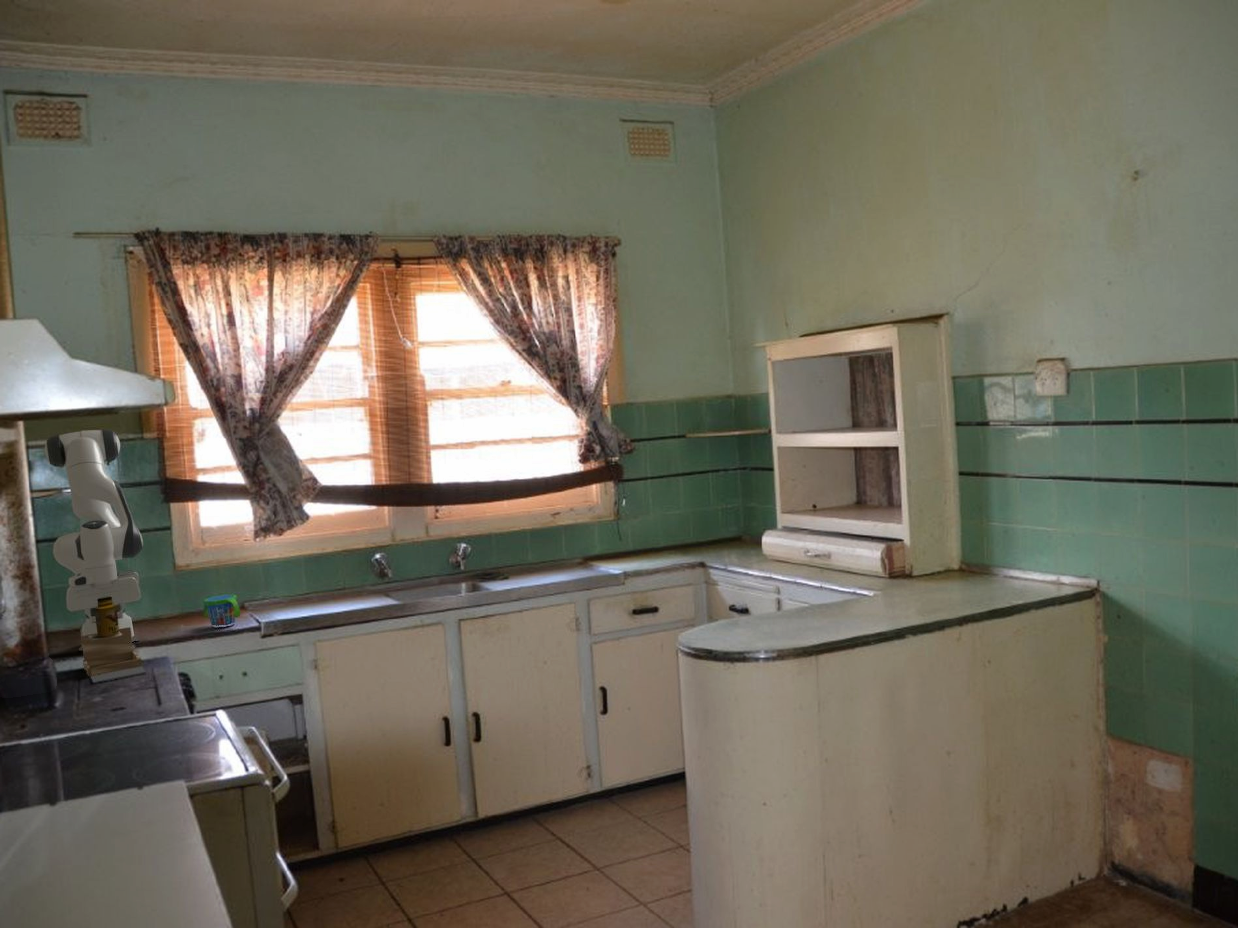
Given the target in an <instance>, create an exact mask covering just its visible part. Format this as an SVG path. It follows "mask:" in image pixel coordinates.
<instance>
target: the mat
mask: <svg viewBox="0 0 1238 928" xmlns="http://www.w3.org/2000/svg"><path fill="white" fill-rule="evenodd" d="M146 674H147V671H146V669H145V668H144V667H143V665H142V666H141V667H136V668H131V669H126V670H120V671H115V672H110V673H105V674H100V675H95V676H90V677H91V678H90V677H89V678H90V680H91V679H92V680H91V682H92V681H93V682H92V683H97V684H99V683H98V682H101V681H107V682H112V681H116V680H115V679H117V680H121V679H122V680H123V679H127V678H132V677H137V676H141V675H146ZM126 677H127V678H126ZM111 680H112V681H111Z"/></svg>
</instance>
